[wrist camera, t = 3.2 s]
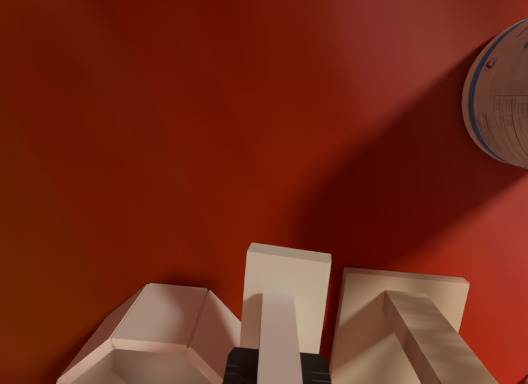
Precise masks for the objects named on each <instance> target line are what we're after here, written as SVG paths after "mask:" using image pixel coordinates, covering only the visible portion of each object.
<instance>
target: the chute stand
mask: <svg viewBox="0 0 528 384" xmlns="http://www.w3.org/2000/svg"><path fill="white" fill-rule="evenodd" d="M469 285H470V284H469V283H468V282H467V281H466V280H465V279H464V278H461V277H450V276H439V275H428V274H417V273H406V272H395V271H384V270H373V269H362V268H351V267H344V272H343V278H342V285H341V292H340V299H339V306H338V313H337V319H336V326H335V333H334V340H333V347H332V353H331V360H330V367H329V372H330V377H331V383H332V384H498V382H497V381H496V380H495V379H494V377H493V376H492V375H491V374H490V373H489V371H488V370H487V369H486V368H485V366H484V365H483V364H482V363H481V361H480V360H479V359H478V358H477V356H476V355H475V354H474V353H473V351H472V350H471V349H470V348H469V347H468V345H467V344H466V343H465V342H464V340H463V339H462V338H461V337H460V335H459V334H458V332H459V328H460V324H461V319H462V315H463V311H464V306H465V302H466V298H467V293H468V289H469Z"/></svg>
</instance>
